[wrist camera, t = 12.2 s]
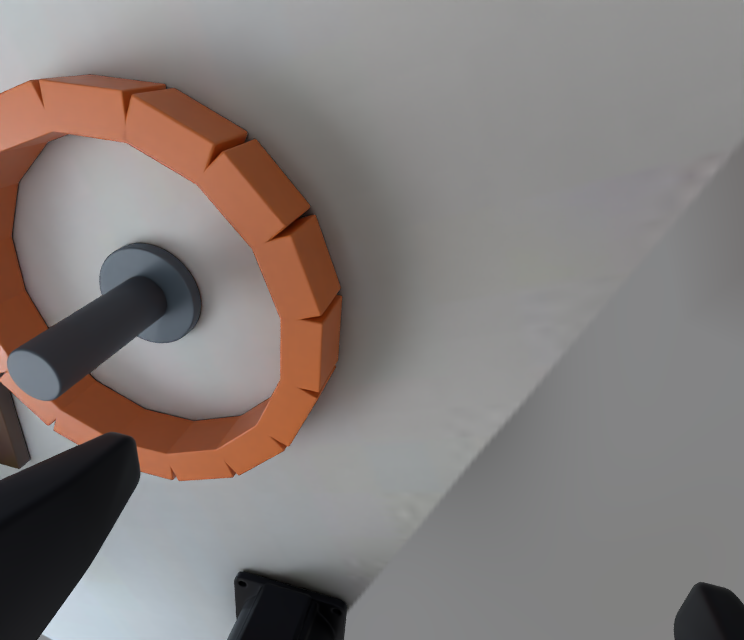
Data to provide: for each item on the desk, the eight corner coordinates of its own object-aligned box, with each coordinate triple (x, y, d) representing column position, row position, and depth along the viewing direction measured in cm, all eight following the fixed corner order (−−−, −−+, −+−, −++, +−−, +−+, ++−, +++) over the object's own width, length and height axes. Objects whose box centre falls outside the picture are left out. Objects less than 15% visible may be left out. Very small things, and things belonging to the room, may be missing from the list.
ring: (330, 479, 25) (313, 518, 23) (30, 403, 28) (-9, 432, 26) (355, 108, 17) (332, 118, 15) (-69, 53, 20) (-136, 55, 18)
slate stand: (205, 345, 24) (104, 444, 18) (116, 326, 24) (-7, 414, 19) (197, 252, 21) (81, 330, 16) (100, 234, 22) (-45, 302, 17)
